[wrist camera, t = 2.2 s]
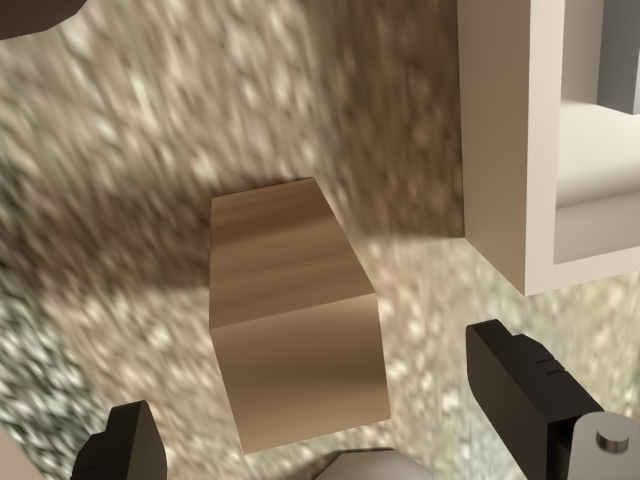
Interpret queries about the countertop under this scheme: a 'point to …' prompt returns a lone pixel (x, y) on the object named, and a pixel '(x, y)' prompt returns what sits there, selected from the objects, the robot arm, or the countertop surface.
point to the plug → (292, 318)
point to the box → (551, 138)
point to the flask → (375, 467)
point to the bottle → (34, 15)
